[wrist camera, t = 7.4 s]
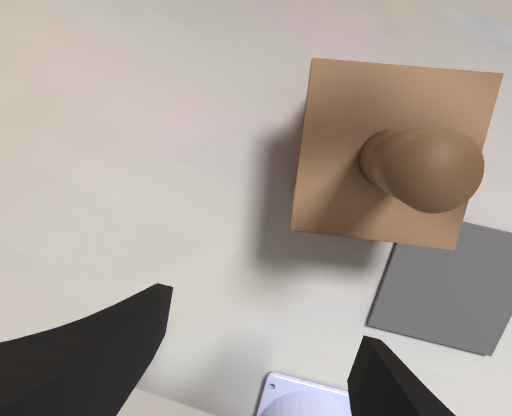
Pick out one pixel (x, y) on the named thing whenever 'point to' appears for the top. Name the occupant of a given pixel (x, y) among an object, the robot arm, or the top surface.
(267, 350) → the top surface
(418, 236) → the lid
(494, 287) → the mat
